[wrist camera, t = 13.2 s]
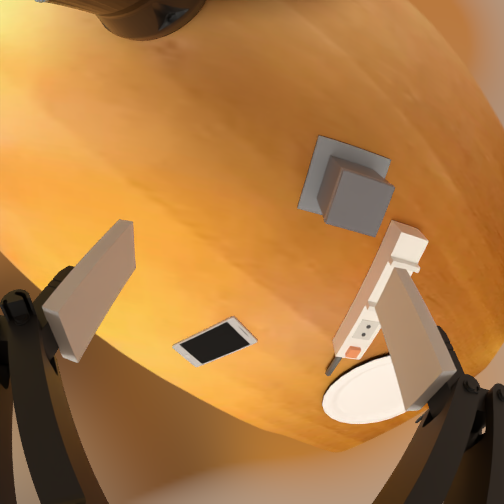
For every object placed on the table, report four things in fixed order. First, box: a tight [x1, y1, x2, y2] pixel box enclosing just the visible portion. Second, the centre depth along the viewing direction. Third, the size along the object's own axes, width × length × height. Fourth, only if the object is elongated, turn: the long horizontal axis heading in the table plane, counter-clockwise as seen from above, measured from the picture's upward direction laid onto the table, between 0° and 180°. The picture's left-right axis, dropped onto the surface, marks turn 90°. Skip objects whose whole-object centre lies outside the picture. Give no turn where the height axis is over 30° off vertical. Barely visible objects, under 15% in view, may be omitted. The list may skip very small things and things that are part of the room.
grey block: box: [316, 155, 395, 237], centre depth 33 cm, size 6×6×8 cm
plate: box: [322, 355, 406, 424], centre depth 58 cm, size 29×29×2 cm
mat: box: [297, 135, 391, 215], centre depth 36 cm, size 10×10×1 cm
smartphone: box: [172, 316, 257, 367], centre depth 53 cm, size 7×16×1 cm, turn 126°
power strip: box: [325, 220, 428, 376], centre depth 44 cm, size 33×5×5 cm, turn 167°
